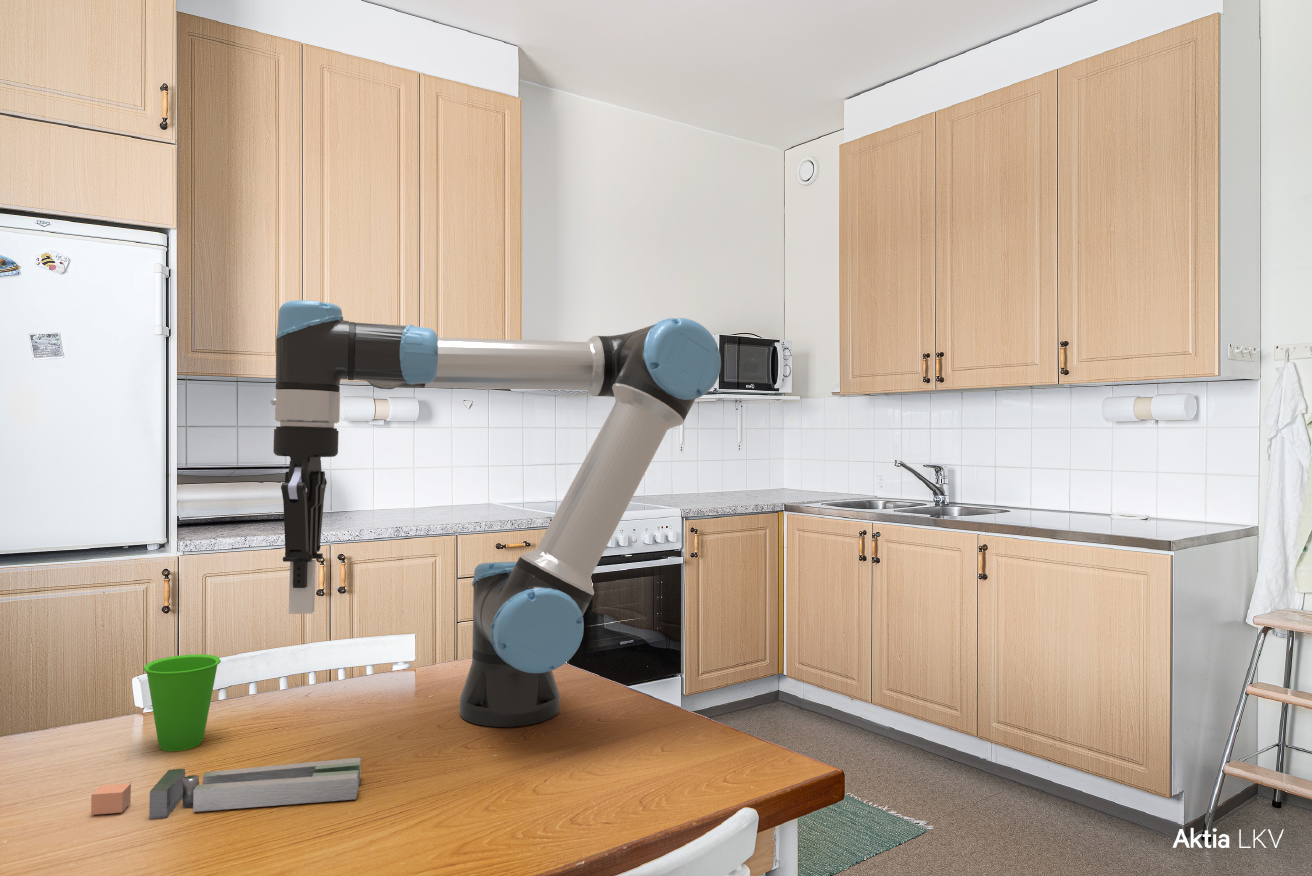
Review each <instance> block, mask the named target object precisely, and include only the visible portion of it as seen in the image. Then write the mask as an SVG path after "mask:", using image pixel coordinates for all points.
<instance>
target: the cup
mask: <svg viewBox="0 0 1312 876" xmlns="http://www.w3.org/2000/svg"><path fill="white" fill-rule="evenodd" d="M220 663H221V659H220V657H218V656H216V655H213V654H204V653H203V654H199V653H196V654H182V655H173V656H168V657H167V656H166V657H163V658H158V659H155V660H153V661H150V662H148V663H146V664H145V666H143V671H144V672H146V676H147V681H148V687H149V694H150V699H151V701H150V702H151V707H152V713H153V719H154V724H155V725H154V726H155V730H156V737H157V743H158V746H159V749H160V750H162V751H165V752H180V751H185V750H187V751H188V750H190V749H193V748H196V747H198V746H200V745H201V744H202V741H203V740H204V738H205V733H206V728H207V723H208V716H209V711H210V707H211V701H212V695H213V691H214V685H215V681H216V674H217V670H218V665H220Z"/></svg>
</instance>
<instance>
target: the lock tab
mask: <svg viewBox="0 0 1312 876" xmlns="http://www.w3.org/2000/svg"><path fill="white" fill-rule="evenodd" d="M131 785H132V783H118V784H105V785H100V786H99V787H98V788H97V789H95V790H94V791H93V792H92V794H91V798H90V799H91V800H90V801H91V803H90V805H91V806H90V809H91V811H90V815H91V816H93V815H105V814H119V813H123V812H124V811H125V810H126V809H127V807H128V806H129V805H130V804H131V797H132V795H131V794H132V790H131V789H132V786H131Z"/></svg>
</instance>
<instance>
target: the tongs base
mask: <svg viewBox="0 0 1312 876" xmlns="http://www.w3.org/2000/svg"><path fill="white" fill-rule="evenodd" d="M359 786H360V785H359V770H354V771H339V772H325V773H313V776H312V777H301V778H287V779H273V780H259V781H245V782H231V783H217V784H203V783H202V784H200V776H199V775H198V774H191V775H187V776H186V768H176V769H175V768H173V769H168V770H167V771H166V772H165V774H164V775H163V776H162V777H161V778H160V779H159V781H157V782H156V784H154V786H153V787H152V788H151V789H150V791H149V809H148V810H149V811H148V814H149V815H148V819H149V820H154V819H164V818H165V819H166V818H168V816H170V814H171V812H172V811H173V810H174V809H175V808H176V806H177V805H178V804H179V803H180V801H181V800H182V801H181V802H182V803H181V804H182V805H181V807H182V808H187V809H188V808H192V812H193V813H194V812H195V813H196V812H209V811H222V810H223V811H224V810H231V809H232V810H233V809H234V810H235V809H247V808H248V809H249V808H258V807H259V808H260V807H271V806H272V807H273V806H284V805H285V806H286V805H288V806H289V805H298V804H308V803H309V804H310V803H311V804H312V803H325V802H338V801H347V800H348V801H352V800H357V796H358V792H359Z"/></svg>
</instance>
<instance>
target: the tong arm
mask: <svg viewBox="0 0 1312 876" xmlns="http://www.w3.org/2000/svg"><path fill="white" fill-rule="evenodd" d="M361 761H362V759H361V757H352V758H342V759H341V758H340V759H339V758H338V759H331V760H330V759H329V760H319V761H309V762H299V763H289V764H288V763H287V764H279V765H278V764H276V765H267V766H254V767H247V768H246V767H244V768H235V769H224V770H213V771H212V770H211V771H206V772H204V775H203V776H202V785H203V784H217V783H231V782H245V781H259V780H273V779H287V778H301V777H312V776H313V773H325V772H339V771H354V770H359V786H360V784H361V767H362V765H361Z"/></svg>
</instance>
